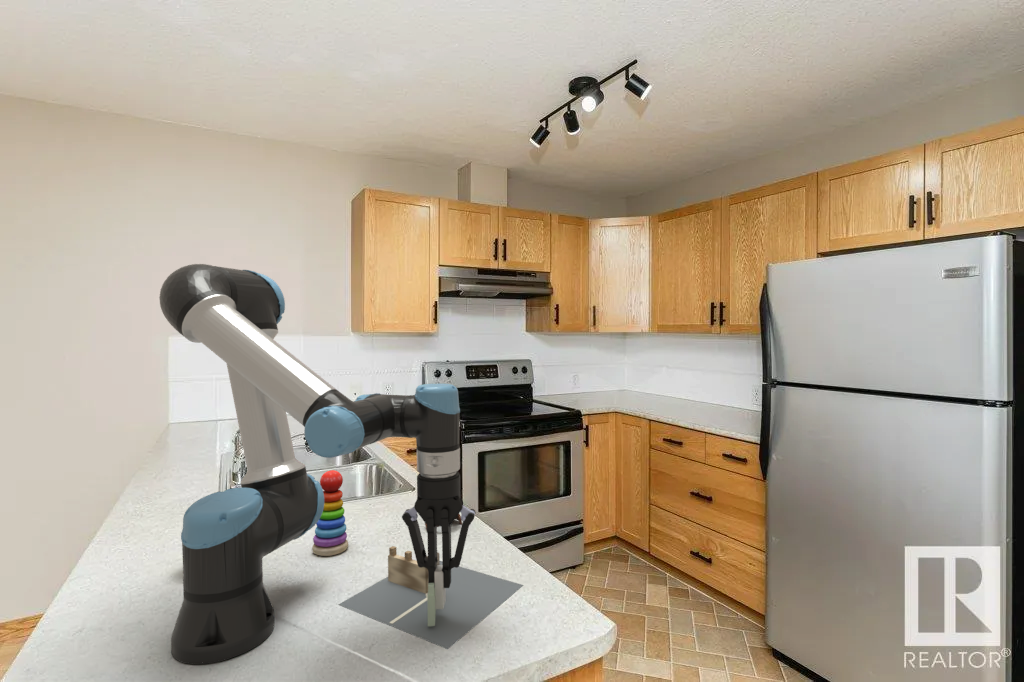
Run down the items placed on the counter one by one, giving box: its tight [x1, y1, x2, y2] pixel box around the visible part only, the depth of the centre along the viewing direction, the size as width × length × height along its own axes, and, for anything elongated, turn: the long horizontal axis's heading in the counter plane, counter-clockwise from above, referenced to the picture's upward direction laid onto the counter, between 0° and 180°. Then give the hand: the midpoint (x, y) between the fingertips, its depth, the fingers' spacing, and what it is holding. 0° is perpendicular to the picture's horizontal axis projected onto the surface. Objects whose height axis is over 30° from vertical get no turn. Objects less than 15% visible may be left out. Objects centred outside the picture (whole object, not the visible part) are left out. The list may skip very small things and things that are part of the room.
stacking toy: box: [311, 469, 349, 557], centre depth 120 cm, size 8×8×19 cm
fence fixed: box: [387, 545, 441, 594], centre depth 101 cm, size 13×2×8 cm, turn 58°
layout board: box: [337, 560, 524, 650], centre depth 98 cm, size 24×26×1 cm
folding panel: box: [427, 583, 436, 626], centre depth 92 cm, size 10×1×7 cm, turn 6°
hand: (440, 604), depth 90 cm, fingers closed
